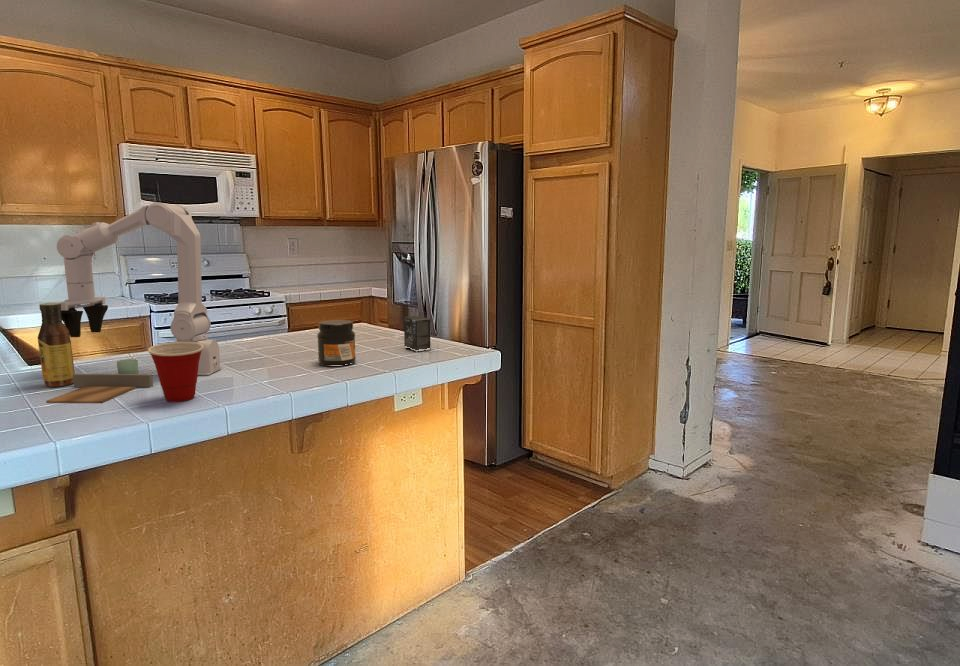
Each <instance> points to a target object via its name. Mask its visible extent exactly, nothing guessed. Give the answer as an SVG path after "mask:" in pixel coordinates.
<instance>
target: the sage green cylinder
mask: <svg viewBox="0 0 960 666" xmlns="http://www.w3.org/2000/svg"><path fill="white" fill-rule="evenodd" d="M116 367H117V368H116V369H117V374H140V373H139V372H140V371H139V362H138V359H134V358H133V359H132V358H131V359H130V358H129V359H127V358H126V359H120V360H117V361H116Z"/></svg>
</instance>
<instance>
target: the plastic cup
mask: <svg viewBox="0 0 960 666" xmlns="http://www.w3.org/2000/svg"><path fill="white" fill-rule="evenodd" d="M203 348H204V347H203V345H202V344H199V343H194V342H177V341H172V342H163V343H158V344H155V345H151V346H150V347H148V349H147V350H148V354H150V356H151V358H152V360H153V363H154V366H155V369H156V373H157V376H158V380H159V383H160V387H161V389H162V393H163V397H164V398H165V401H166V402H168V403H169V402H171V403H179V402H185V401H189V400H193V399H194V398H195V396H196V389H197V383H198V376H199V375H198V366H199V360H200V355H201V351H202V350H203Z"/></svg>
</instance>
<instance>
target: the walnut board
mask: <svg viewBox="0 0 960 666" xmlns="http://www.w3.org/2000/svg"><path fill="white" fill-rule="evenodd" d="M134 389H136V387H91V386H84V387H78V388H76V389H74V390H71V391H68V392H65V393H64V394H60V395H58V396H56V397H53V398H49V399H48V400H45V401H46V404H50V403H51V404H52V403H53V404H54V403H56V404H58V403H59V404H60V403H63V404H64V403H67V404H69V403H70V404H104V403H105V402H108V401H110V400H112V399H115V398H117V397H119V396H121V395H123V394H126V393H129V392H131V391H133V390H134Z"/></svg>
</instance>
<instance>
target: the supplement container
mask: <svg viewBox="0 0 960 666" xmlns="http://www.w3.org/2000/svg"><path fill="white" fill-rule="evenodd" d="M353 329H354V322H353V321H351V320H346V319H332V320H329V319H328V320H324V321H319V322H318V330H319V331H318V333H317V335H316V337H317V350H318V351H317V352H318V353H317V354H318V357H317V359H318V363H319V364H320V365H321V364H323V365H322V366H324V365H345V364H350V363H353V362H354V363H355V362H356V358H357V357H356V333H355V331H354V330H353ZM354 363H353V364H354ZM350 365H351V364H350Z"/></svg>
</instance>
